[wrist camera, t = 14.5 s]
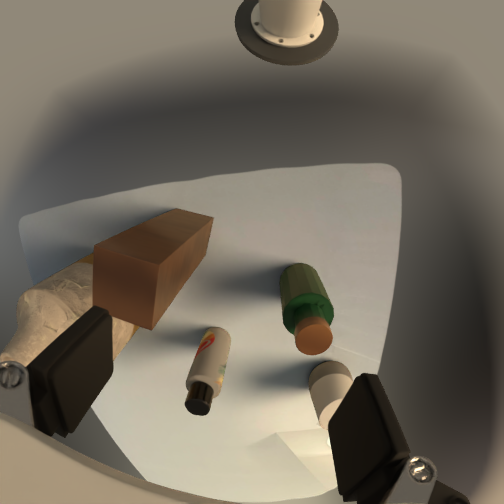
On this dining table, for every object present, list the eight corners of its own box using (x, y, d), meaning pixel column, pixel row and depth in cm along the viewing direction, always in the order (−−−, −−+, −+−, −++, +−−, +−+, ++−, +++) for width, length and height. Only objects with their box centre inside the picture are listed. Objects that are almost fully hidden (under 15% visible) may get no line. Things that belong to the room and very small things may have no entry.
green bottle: (286, 258, 50) (294, 300, 34) (324, 268, 50) (348, 312, 34) (275, 295, 52) (277, 347, 36) (311, 303, 52) (327, 357, 36)
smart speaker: (354, 376, 57) (370, 420, 43) (318, 393, 58) (326, 439, 45) (338, 349, 55) (353, 394, 41) (299, 369, 56) (305, 416, 43)
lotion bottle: (197, 334, 55) (169, 402, 36) (219, 321, 54) (197, 391, 35) (215, 353, 56) (195, 424, 37) (237, 342, 55) (223, 414, 36)
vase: (67, 291, 55) (-22, 359, 26) (99, 231, 51) (-18, 287, 21) (125, 344, 58) (57, 439, 28) (166, 293, 53) (85, 399, 24)
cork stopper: (298, 302, 37) (302, 320, 32) (330, 309, 37) (338, 328, 32) (288, 330, 38) (290, 351, 33) (319, 337, 38) (324, 358, 34)
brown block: (176, 208, 49) (93, 245, 24) (213, 217, 49) (159, 264, 24) (169, 245, 51) (92, 309, 26) (205, 255, 51) (151, 330, 26)
